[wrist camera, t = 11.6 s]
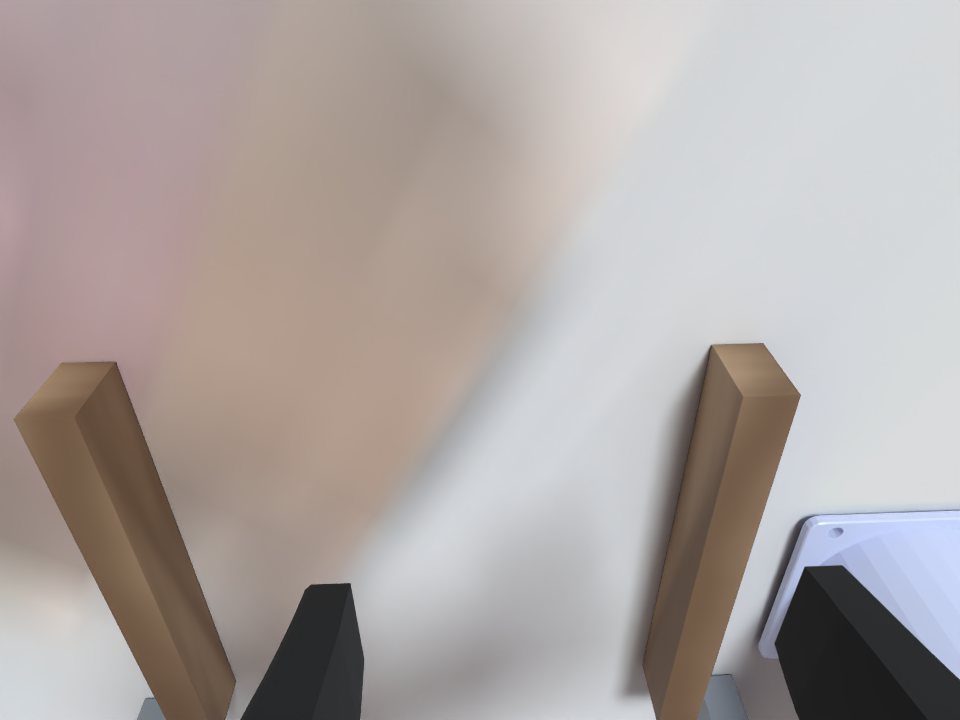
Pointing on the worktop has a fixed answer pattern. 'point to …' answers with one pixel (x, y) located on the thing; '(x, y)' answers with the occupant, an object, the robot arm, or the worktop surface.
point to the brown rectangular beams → (182, 607)
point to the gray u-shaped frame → (717, 716)
